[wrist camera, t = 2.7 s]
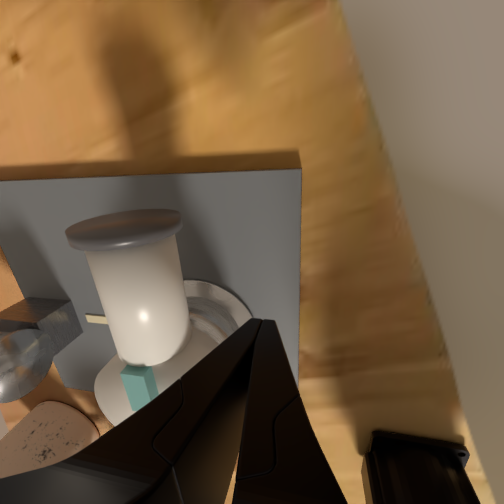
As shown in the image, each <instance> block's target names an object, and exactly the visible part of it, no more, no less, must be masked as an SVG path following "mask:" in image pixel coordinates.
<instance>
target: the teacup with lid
mask: <svg viewBox="0 0 504 504" xmlns="http://www.w3.org/2000/svg"><path fill="white" fill-rule="evenodd" d="M99 437H100V436H99V433H98V431H97V429H96V427H95V426H94V424H93V423H92V422H91V421H90V420H89V419H88V418H87V417H86V416H85V415H83V414H82V413H81V412H79V411H78V410H76V409H75V408H73V407H71V406H69V405H66V404H64V403H60V402H56V401H46V402H42V403H40V404H38V405H37V406H36V407H35V408H34V409H33V410H31V411H30V412H29V413H28V414H27V415H26V416H25V417H24V418H23V419H22V420H21V421H20V422H19V423H18V424H17V425H16V426H15V427H14V428H13V429H12V430H11V431H9V432H8V433H7V434H6V435H5V436H4V437H3V438H2V439H1V440H0V478H4V477H8V476H12V475H16V474H20V473H23V472H27V471H31V470H35V469H39V468H43V467H46V466H49V465H52V464H55V463H58V462H60V461H62V460H64V459H66V458H68V457H70V456H72V455H74V454H76V453H77V452H79V451H81V450H82V449H84V448H85V447H87V446H88V445H90V444H91V443H92V442H94V441H95V440H97V439H98V438H99Z"/></svg>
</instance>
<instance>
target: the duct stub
mask: <svg viewBox="0 0 504 504" xmlns="http://www.w3.org/2000/svg"><path fill="white" fill-rule="evenodd" d="M183 282H184V288H185V293H186V299H187V305H188V310H189V316H190V321H191V326H193V327H195V328H197V329H199V330H201V331H202V332H204V333H206V334H207V335H209V336H210V337H211V338H212V339H214V340H215V341H216V342H217V343H218V344H220V343H222V342H223V341H224V340H225V339H226V338H228V337H229V336H230V335H231V334H232V333H234V332H235V331H236V330H237V329H238V328H239V327H241V326H242V325H243V324H244V323H245V322H247V321H248V320H249V319H250V318H254V317H253V315H252V314H251V312H250V310H249V309H248V308H247V306H246V305H245V304H244V303H243V302H242V301H241V300H240V299H239V298H238V297H237V296H236V295H235V294H233V293H232V292H231V291H229V290H227V289H226V288H224V287H222V286H220V285H218V284H215V283H213V282H210V281H206V280H200V279H183Z"/></svg>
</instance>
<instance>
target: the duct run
mask: <svg viewBox="0 0 504 504" xmlns="http://www.w3.org/2000/svg"><path fill="white" fill-rule="evenodd" d="M82 333H83V330H82V327H81V325H80V322H79V319H78V317H77V314H76V311H75V309H74V306H73V303H72V301H71V300H61V299H49V298H37V297H27V298H25V299H23V300H21V301H20V302H18V303H16V304H14V305H12V306H10V307H9V308H7V309H5V310H3V311H1V312H0V403H7V402H12V401H15V400H17V399H19V398H21V397H23V396H25V395H26V394H28V393H29V392H31V391H32V390H33V389H34V388H35V387H36V386H37V385H38V384H39V383H40V382H41V381H42V380H43V378H44V377H45V376H46V374H47V373H48V371H49V369H50V367H51V364H52V361H53V357H54V356H55V355H57V354H58V353H59V352H60V351H61V350H63V349H64V348H65V347H66V346H67V345H69V344H70V343H71V342H72V341H74V340H75V339H76V338H77V337H78V336H80V335H81V334H82Z"/></svg>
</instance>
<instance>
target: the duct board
mask: <svg viewBox="0 0 504 504" xmlns="http://www.w3.org/2000/svg"><path fill="white" fill-rule="evenodd" d="M301 191H302V168H293V169H269V170H245V171H220V172H196V173H172V174H148V175H123V176H99V177H75V178H51V179H27V180H2V181H0V246H1V248H2V250H3V252H4V254H5V257H6V259H7V261H8V263H9V265H10V268H11V270H12V272H13V274H14V276H15V278H16V281H17V283H18V285H19V287H20V289H21V292H22V294H23V296H24V298H27V297H37V298H49V299H61V300H71V301H72V303H73V306H74V309H75V311H76V314H77V317H78V319H79V322H80V325H81V327H82V330H83V333H82V334H81V335H80V336H78V337H77V338H76V339H75V340H74V341H72V342H71V343H70V344H69V345H67V346H66V347H65V348H64V349H63V350H61V351H60V352H59V353H58V354H57V355H55V356H54V357H53V362H54V364H55V366H56V368H57V370H58V373H59V375H60V377H61V379H62V381H63V384H64V386H65V387H68V388H74V389H79V390H85V391H91V392H94V384H95V379H96V377H97V375H98V373H99V372H100V371H101V370H102V369H103V368H104V366H105V365H106V364H107V363H108V362H109V361H110V360H111V359H112V358H113V357H114V356H115V355H116V354H117V349H116V346H115V343H114V340H113V337H112V334H111V331H110V328H109V325H108V322H107V319H106V316H105V313H104V310H103V307H102V304H101V300H100V297H99V294H98V291H97V288H96V285H95V282H94V279H93V276H92V273H91V270H90V267H89V264H88V261H87V258H86V255H85V252H84V251H81V250H76V249H73V248H71V247H70V245H69V243H68V240H67V237H66V234H65V230H66V229H67V228H68V227H70V226H71V225H73V224H76V223H78V222H81V221H83V220H87V219H90V218H93V217H97V216H101V215H106V214H111V213H116V212H123V211H130V210H139V209H171V210H176V211H178V212H180V213H181V218H182V224H183V227H182V229H181V230H180V231H178V232H177V233H175V237H176V243H177V249H178V254H179V260H180V265H181V271H182V277H183V279H200V280H206V281H210V282H213V283H215V284H218V285H220V286H222V287H224V288H226V289H227V290H229V291H231V292H232V293H233V294H235V295H236V296H237V297H238V298H239V299H240V300H241V301H242V302H243V303H244V304H245V305H246V306H247V308H248V309H249V310H250V312H251V314H252V315H253V317H254V318H260V319H262V320H264V319H272V320H275V321H276V324H277V327H278V330H279V333H280V336H281V339H282V342H283V345H284V348H285V351H286V354H287V357H288V360H289V363H290V366H291V369H292V372H293V375H294V378H295V381H296V384H297V387H298V371H299V311H300V251H301Z"/></svg>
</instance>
